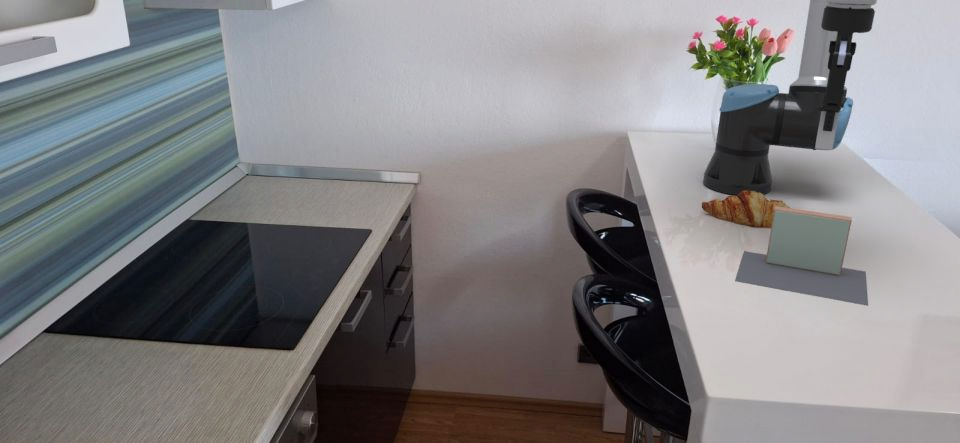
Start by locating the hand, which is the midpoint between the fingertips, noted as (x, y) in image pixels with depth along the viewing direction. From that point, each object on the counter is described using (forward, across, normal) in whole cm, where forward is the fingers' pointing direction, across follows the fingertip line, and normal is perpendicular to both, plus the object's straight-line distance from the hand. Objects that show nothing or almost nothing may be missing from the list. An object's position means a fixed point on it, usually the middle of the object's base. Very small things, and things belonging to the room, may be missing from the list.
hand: (823, 146), depth 129 cm
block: (+20, -8, 0) cm, 21 cm away
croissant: (+21, +13, +10) cm, 27 cm away
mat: (+20, -12, 0) cm, 24 cm away
